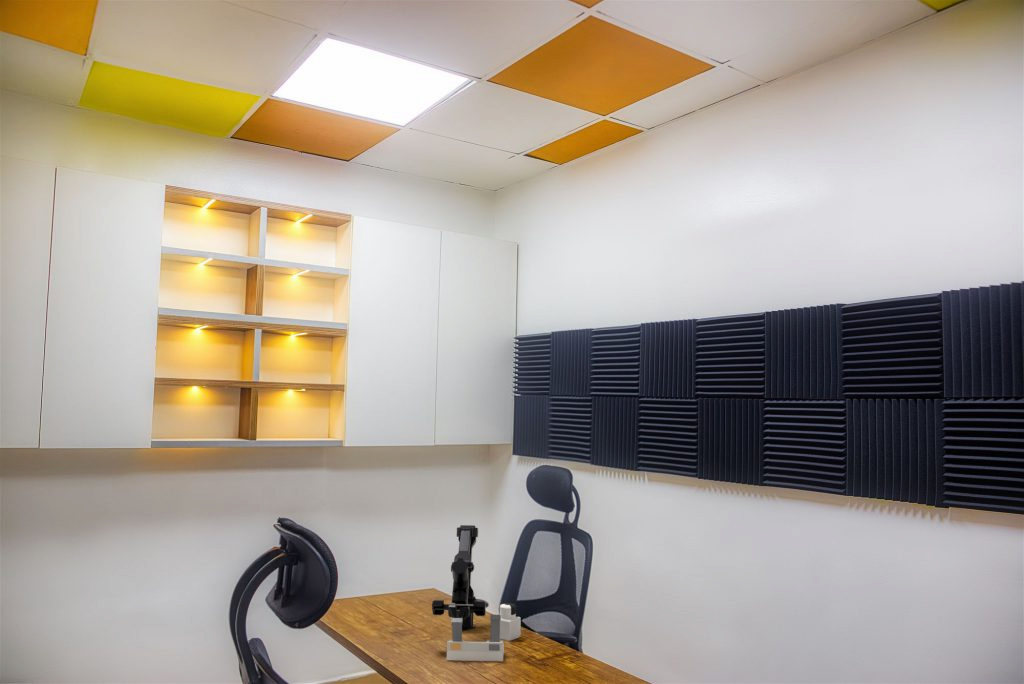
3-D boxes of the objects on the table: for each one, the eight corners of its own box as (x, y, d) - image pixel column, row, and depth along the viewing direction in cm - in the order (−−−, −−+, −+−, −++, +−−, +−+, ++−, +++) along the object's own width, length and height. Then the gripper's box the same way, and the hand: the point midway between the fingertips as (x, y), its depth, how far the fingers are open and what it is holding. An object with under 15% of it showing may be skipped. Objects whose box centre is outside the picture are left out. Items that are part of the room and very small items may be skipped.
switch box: (449, 651, 262) (449, 634, 262) (503, 652, 261) (503, 634, 262) (446, 660, 252) (446, 642, 253) (502, 661, 252) (503, 643, 253)
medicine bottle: (505, 633, 284) (505, 600, 285) (520, 636, 280) (521, 603, 281) (494, 637, 278) (494, 604, 280) (509, 641, 274) (510, 607, 275)
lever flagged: (452, 642, 260) (451, 617, 257) (462, 642, 260) (462, 618, 257) (451, 646, 258) (451, 622, 255) (462, 646, 257) (461, 622, 255)
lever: (489, 645, 259) (490, 615, 263) (500, 645, 259) (500, 615, 263) (489, 645, 257) (490, 614, 261) (499, 645, 257) (500, 614, 261)
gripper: (486, 603, 275) (484, 643, 263) (436, 602, 275) (431, 642, 263) (486, 585, 268) (484, 625, 256) (434, 584, 268) (429, 624, 256)
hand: (457, 630), depth 258 cm, fingers closed, pressing on lever flagged
